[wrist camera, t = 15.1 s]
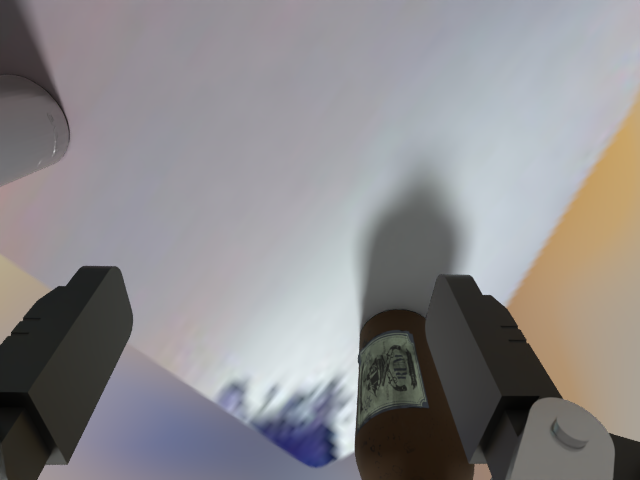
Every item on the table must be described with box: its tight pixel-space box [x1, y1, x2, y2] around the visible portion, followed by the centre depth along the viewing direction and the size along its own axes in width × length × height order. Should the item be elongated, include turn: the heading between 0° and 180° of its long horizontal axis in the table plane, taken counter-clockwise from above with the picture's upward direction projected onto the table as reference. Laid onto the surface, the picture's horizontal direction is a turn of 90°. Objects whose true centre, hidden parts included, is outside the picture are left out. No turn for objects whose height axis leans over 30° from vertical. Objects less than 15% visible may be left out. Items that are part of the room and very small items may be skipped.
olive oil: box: [355, 310, 474, 480], centre depth 39 cm, size 11×11×25 cm
